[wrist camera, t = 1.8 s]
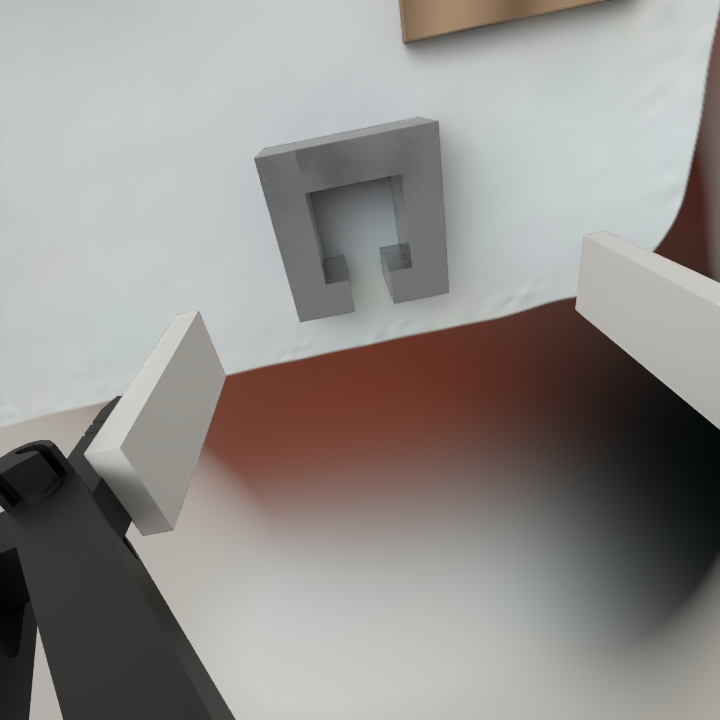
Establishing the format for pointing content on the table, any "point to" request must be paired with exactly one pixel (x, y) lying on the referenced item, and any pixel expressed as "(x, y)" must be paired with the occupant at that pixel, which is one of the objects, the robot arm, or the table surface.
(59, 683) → the robot arm
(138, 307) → the table surface
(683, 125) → the table surface
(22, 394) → the table surface
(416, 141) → the grey split frame
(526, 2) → the post fixture
